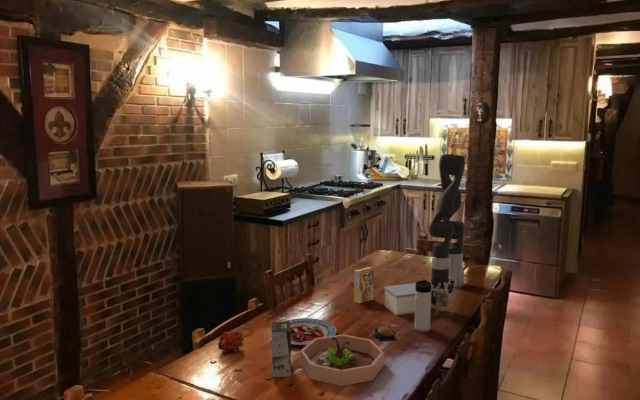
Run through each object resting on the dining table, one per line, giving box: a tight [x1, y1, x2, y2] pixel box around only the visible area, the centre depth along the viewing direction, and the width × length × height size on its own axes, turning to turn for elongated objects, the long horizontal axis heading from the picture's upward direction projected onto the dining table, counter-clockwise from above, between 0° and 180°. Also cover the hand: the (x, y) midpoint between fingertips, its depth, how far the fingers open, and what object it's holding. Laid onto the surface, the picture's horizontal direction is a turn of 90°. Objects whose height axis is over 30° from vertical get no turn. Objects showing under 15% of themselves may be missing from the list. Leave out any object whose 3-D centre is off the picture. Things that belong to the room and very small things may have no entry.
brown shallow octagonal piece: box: [300, 333, 385, 387], centre depth 186 cm, size 27×27×5 cm
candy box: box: [353, 266, 374, 304], centre depth 249 cm, size 9×4×15 cm, turn 129°
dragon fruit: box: [217, 329, 245, 354], centre depth 198 cm, size 8×8×12 cm
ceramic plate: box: [270, 317, 337, 346], centre depth 212 cm, size 26×26×3 cm
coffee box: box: [271, 320, 292, 378], centre depth 181 cm, size 9×6×16 cm
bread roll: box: [372, 326, 397, 342], centre depth 211 cm, size 11×8×4 cm
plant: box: [310, 337, 370, 370], centre depth 184 cm, size 20×20×11 cm
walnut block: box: [431, 289, 449, 309], centre depth 236 cm, size 5×5×6 cm
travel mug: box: [413, 279, 432, 333], centre depth 215 cm, size 6×7×20 cm
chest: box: [384, 289, 415, 316], centre depth 239 cm, size 16×12×8 cm
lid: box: [382, 282, 416, 297], centre depth 239 cm, size 17×13×1 cm
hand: (439, 303), depth 236 cm, fingers closed on walnut block, 5 cm apart
